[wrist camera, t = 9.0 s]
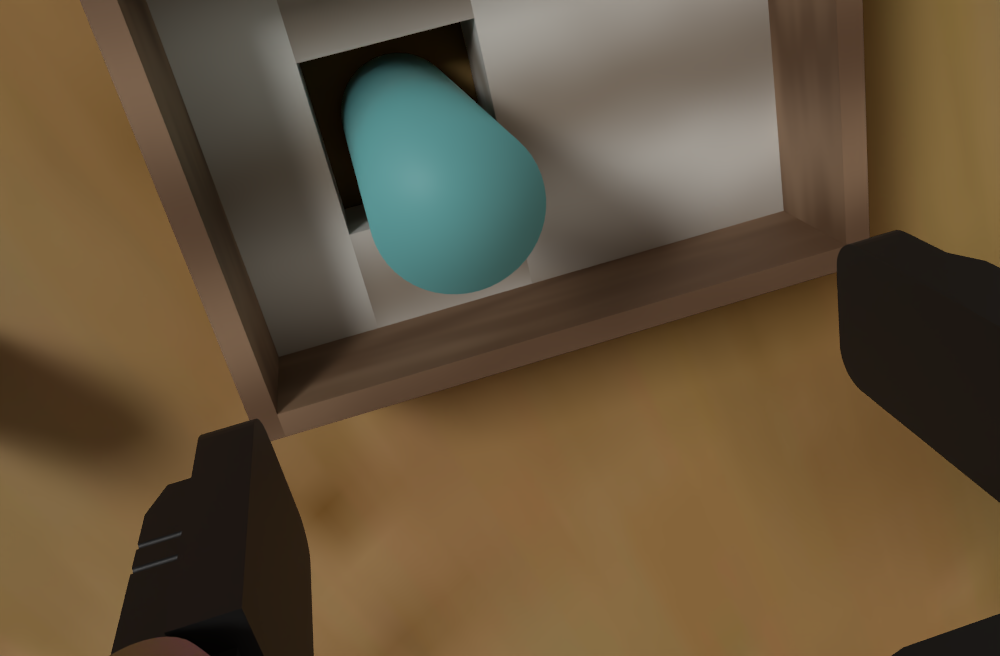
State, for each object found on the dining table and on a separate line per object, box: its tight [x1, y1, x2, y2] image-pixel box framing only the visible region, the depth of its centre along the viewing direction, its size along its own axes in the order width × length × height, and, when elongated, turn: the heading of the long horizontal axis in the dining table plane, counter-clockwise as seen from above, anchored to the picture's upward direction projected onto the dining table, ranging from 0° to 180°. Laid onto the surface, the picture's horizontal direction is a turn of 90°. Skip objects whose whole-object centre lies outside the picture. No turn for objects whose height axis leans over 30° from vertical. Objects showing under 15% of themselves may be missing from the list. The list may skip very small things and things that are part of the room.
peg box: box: [80, 0, 870, 441], centre depth 27 cm, size 14×20×7 cm
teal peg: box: [341, 53, 546, 294], centre depth 25 cm, size 4×4×12 cm
